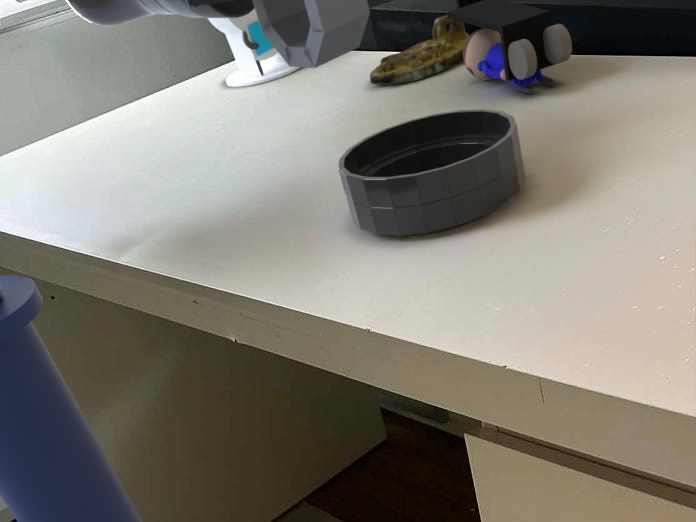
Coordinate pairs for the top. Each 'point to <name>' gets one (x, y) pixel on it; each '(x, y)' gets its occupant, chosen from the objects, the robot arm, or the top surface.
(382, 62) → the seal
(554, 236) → the top surface
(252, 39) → the panda figurine
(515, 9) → the figurine character
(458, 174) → the bowl
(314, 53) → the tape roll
